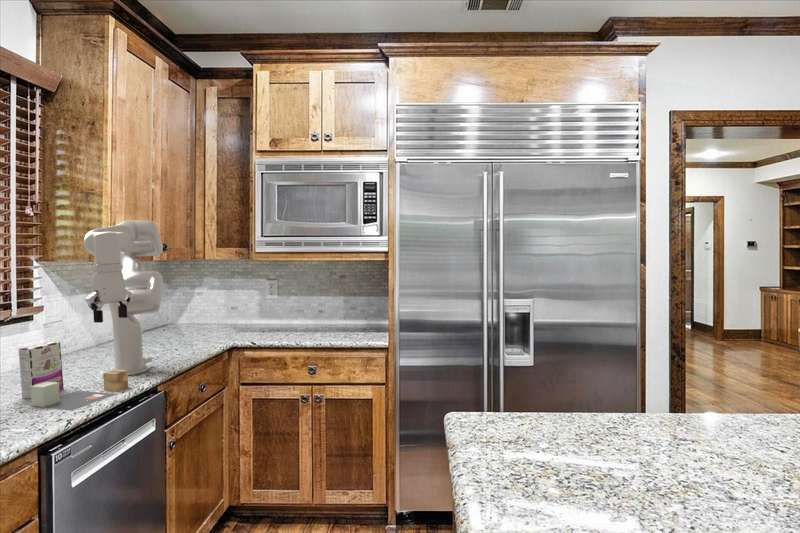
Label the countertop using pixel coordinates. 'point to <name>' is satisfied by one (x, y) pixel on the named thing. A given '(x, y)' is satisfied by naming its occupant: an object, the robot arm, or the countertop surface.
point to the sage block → (45, 394)
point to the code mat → (77, 400)
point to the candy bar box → (40, 366)
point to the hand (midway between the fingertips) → (111, 319)
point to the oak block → (115, 380)
